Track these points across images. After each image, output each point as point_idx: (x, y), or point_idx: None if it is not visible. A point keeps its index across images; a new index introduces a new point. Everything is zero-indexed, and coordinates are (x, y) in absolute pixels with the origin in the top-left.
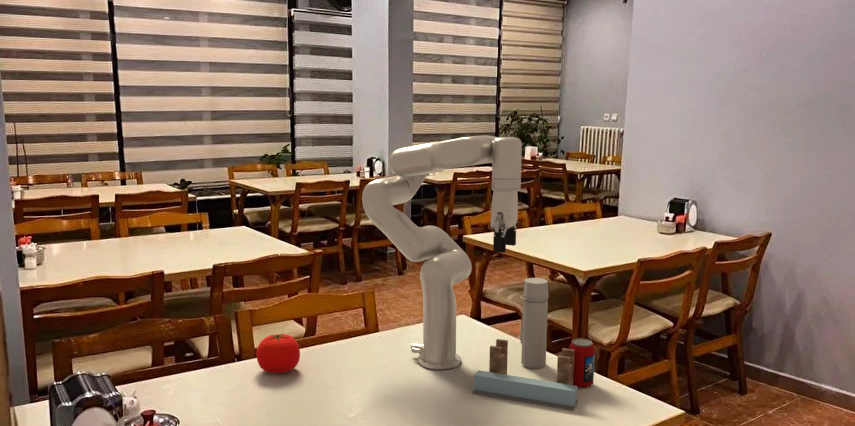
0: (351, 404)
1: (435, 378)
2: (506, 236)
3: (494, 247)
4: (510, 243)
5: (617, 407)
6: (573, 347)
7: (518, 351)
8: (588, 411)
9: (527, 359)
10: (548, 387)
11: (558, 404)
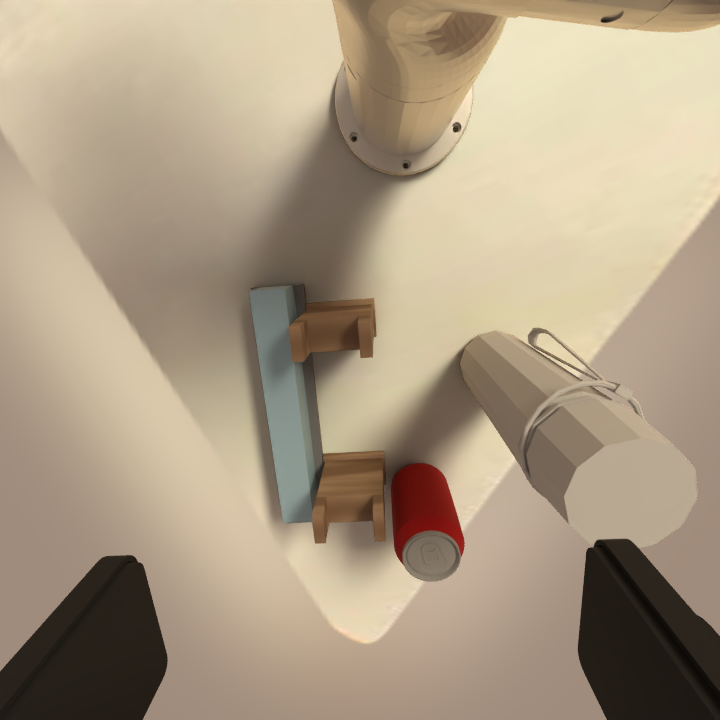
0: (19, 21)
1: (286, 154)
2: (661, 689)
3: (75, 606)
4: (591, 632)
5: (340, 562)
6: (403, 534)
7: (580, 292)
8: None
9: (466, 361)
10: (275, 471)
11: None
